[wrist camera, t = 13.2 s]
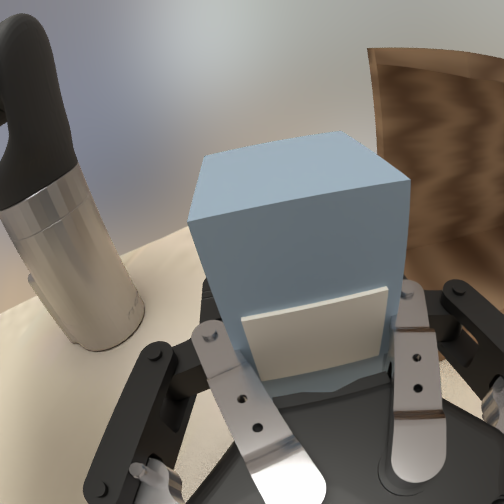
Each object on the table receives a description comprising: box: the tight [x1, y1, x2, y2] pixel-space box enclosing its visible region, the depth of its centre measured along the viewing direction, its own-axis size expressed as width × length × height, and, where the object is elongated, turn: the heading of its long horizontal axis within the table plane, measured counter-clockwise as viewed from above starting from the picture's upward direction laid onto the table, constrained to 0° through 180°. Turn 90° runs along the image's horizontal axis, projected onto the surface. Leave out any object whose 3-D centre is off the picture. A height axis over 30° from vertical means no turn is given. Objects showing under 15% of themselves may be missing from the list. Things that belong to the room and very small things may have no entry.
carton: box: [187, 131, 411, 401], centre depth 12 cm, size 5×5×12 cm
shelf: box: [367, 48, 504, 361], centre depth 18 cm, size 18×11×22 cm, turn 94°
